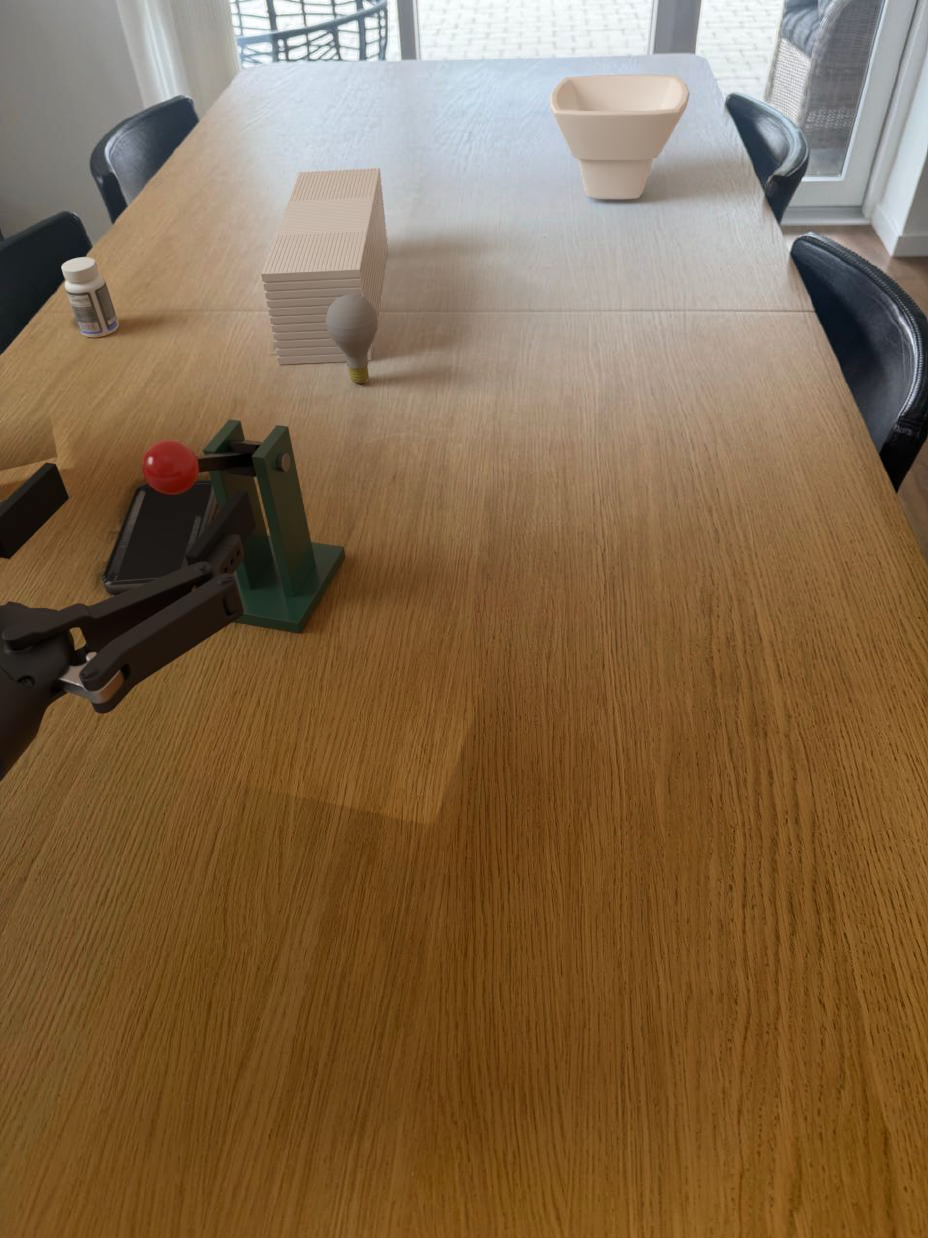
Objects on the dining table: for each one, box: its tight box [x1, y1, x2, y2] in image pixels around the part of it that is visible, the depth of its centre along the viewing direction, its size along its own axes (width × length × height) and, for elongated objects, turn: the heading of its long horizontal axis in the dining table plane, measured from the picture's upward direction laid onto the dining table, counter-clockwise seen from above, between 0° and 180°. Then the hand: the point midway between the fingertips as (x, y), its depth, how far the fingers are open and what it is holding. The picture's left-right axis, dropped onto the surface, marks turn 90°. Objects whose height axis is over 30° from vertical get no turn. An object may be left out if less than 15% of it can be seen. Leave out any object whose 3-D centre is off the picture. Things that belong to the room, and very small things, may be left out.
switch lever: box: [141, 438, 263, 495], centre depth 68 cm, size 14×4×4 cm, turn 164°
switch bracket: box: [202, 418, 347, 634], centre depth 77 cm, size 10×8×15 cm
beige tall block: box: [261, 167, 389, 365], centre depth 119 cm, size 32×11×11 cm, turn 0°
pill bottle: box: [61, 256, 120, 339], centre depth 117 cm, size 5×5×8 cm
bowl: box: [549, 73, 691, 200], centre depth 140 cm, size 19×19×14 cm
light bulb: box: [326, 294, 379, 385], centre depth 104 cm, size 5×5×10 cm
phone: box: [101, 479, 218, 596], centre depth 88 cm, size 8×1×15 cm
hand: (150, 493), depth 61 cm, fingers open, 13 cm apart
